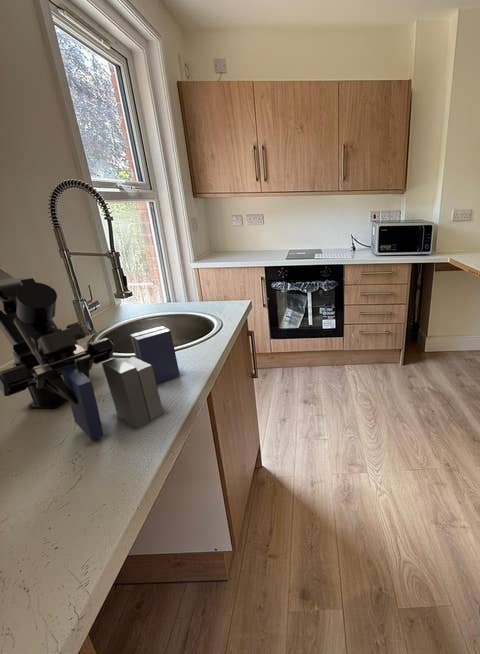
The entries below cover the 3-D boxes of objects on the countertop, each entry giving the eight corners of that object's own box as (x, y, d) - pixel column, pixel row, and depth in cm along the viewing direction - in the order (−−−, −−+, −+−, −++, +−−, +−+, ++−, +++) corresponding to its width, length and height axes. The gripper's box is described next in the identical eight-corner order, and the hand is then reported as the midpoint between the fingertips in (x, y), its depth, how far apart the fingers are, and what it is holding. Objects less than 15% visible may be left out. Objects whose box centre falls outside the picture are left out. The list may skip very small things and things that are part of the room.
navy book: (74, 421, 72) (60, 368, 67) (86, 416, 74) (73, 364, 68) (91, 440, 68) (78, 385, 62) (103, 435, 70) (91, 380, 64)
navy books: (149, 387, 87) (137, 340, 82) (141, 380, 91) (129, 334, 86) (180, 375, 92) (170, 330, 87) (172, 369, 96) (162, 325, 91)
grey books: (117, 415, 76) (101, 363, 71) (144, 402, 81) (131, 352, 76) (136, 428, 72) (121, 373, 67) (164, 413, 77) (151, 361, 72)
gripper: (-23, 329, 57) (25, 409, 55) (98, 300, 70) (140, 363, 69) (-18, 360, 64) (25, 431, 62) (91, 328, 78) (128, 385, 76)
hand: (83, 400), depth 67 cm, fingers closed on navy book, 2 cm apart
